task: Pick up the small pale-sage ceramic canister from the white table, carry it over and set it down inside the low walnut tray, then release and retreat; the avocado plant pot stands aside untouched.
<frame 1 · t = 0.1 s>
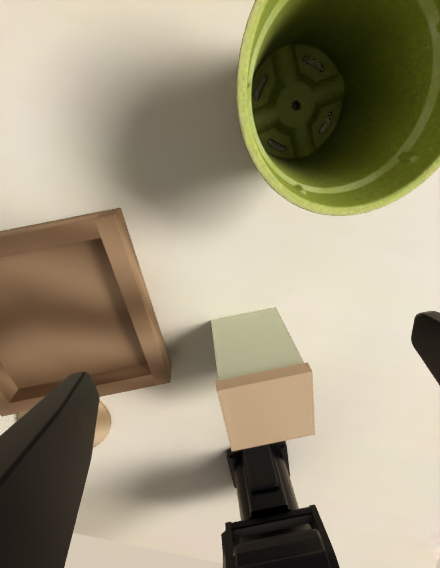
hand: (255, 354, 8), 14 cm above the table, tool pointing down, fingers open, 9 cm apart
cork coaster: (66, 420, 28), on the table
sage canister: (247, 339, 26), on the table
plant pot: (290, 105, 19), on the table
walnut tray: (60, 314, 23), on the table
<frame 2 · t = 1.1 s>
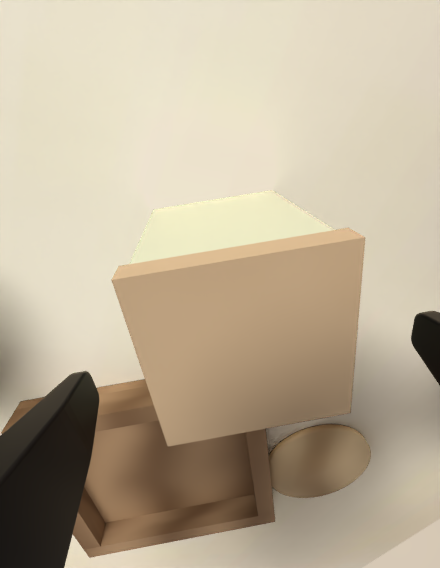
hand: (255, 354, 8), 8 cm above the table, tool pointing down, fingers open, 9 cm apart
cork coaster: (316, 460, 23), on the table
sage canister: (221, 255, 15), on the table
walnut tray: (164, 453, 21), on the table
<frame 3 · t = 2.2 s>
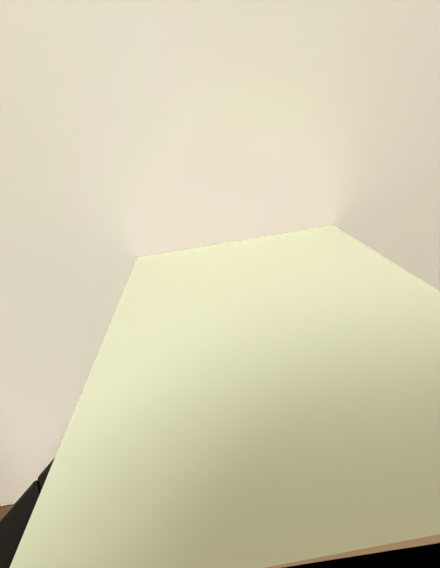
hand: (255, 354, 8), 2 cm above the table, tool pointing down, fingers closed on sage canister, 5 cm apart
sage canister: (245, 322, 10), on the table, touching gripper
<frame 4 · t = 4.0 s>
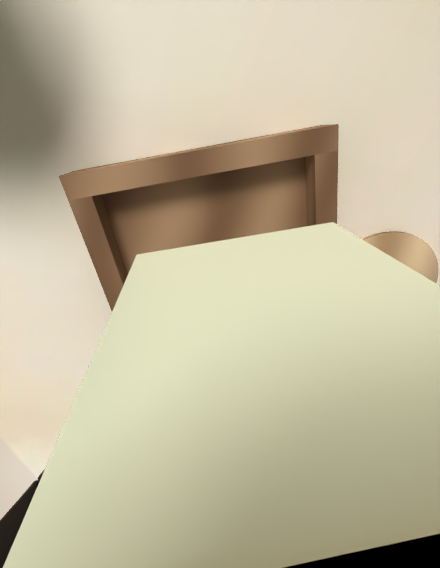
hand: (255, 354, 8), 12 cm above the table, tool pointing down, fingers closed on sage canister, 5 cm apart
cork coaster: (377, 285, 22), on the table
sage canister: (245, 320, 10), point 10 cm above the table, touching gripper
walnut tray: (218, 262, 20), on the table
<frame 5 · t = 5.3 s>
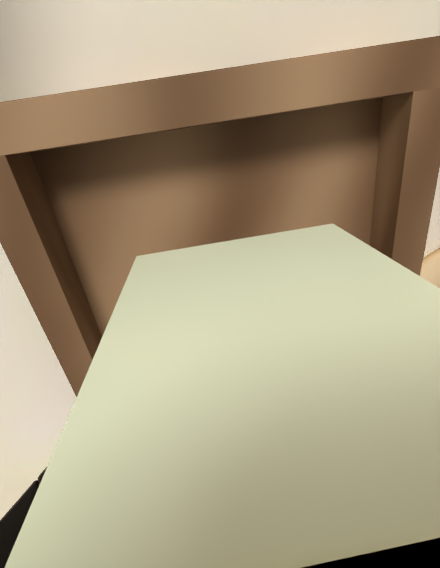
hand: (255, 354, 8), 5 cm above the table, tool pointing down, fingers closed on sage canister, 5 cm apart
sage canister: (245, 321, 10), point 4 cm above the table, touching gripper
walnut tray: (229, 276, 13), on the table
when the fingers open (4 cm above the table, at t = 6.1 s): sage canister drops 1 cm, resting on walnut tray.
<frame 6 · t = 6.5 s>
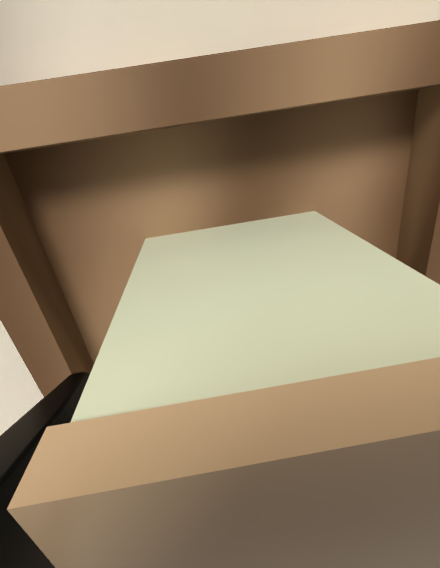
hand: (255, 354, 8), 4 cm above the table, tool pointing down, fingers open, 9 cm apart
sage canister: (239, 298, 11), point 1 cm above the table, touching walnut tray
walnut tray: (235, 293, 11), on the table
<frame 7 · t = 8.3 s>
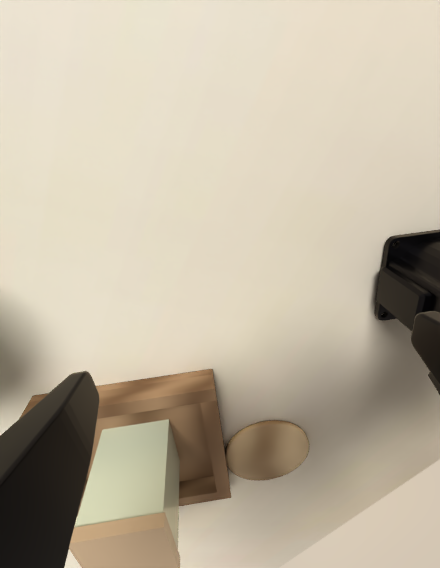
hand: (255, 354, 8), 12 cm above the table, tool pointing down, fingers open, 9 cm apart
cork coaster: (266, 449, 29), on the table
sage canister: (143, 445, 26), point 1 cm above the table, touching walnut tray
walnut tray: (143, 440, 27), on the table
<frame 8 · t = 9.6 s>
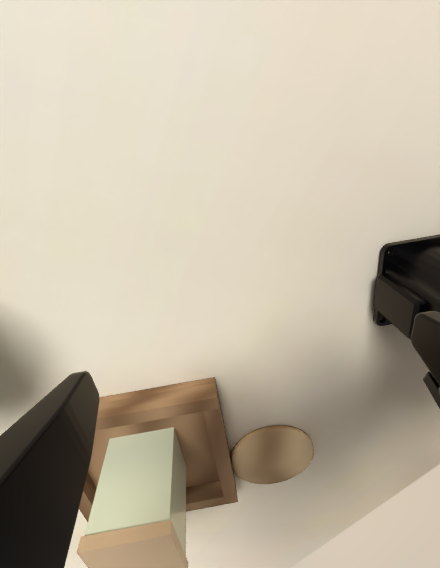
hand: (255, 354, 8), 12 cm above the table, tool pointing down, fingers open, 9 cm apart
cork coaster: (271, 453, 29), on the table
sage canister: (149, 453, 27), point 1 cm above the table, touching walnut tray
walnut tray: (149, 447, 27), on the table
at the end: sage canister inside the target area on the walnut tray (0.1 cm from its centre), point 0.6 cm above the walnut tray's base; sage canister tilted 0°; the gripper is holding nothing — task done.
